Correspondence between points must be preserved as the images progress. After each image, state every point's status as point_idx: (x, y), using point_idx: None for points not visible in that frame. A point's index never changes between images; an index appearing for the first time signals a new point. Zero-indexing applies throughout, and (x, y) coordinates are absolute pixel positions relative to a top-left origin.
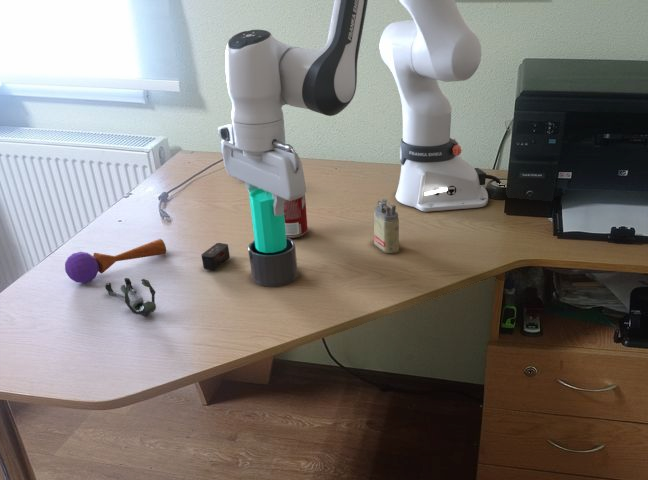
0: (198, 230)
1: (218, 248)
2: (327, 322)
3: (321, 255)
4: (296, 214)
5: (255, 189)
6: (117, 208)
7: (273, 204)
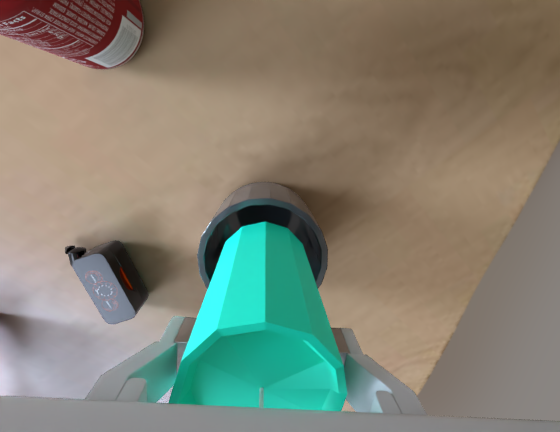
0: None
1: (104, 281)
2: (463, 286)
3: (273, 82)
4: (104, 7)
5: None
6: None
7: (350, 404)
